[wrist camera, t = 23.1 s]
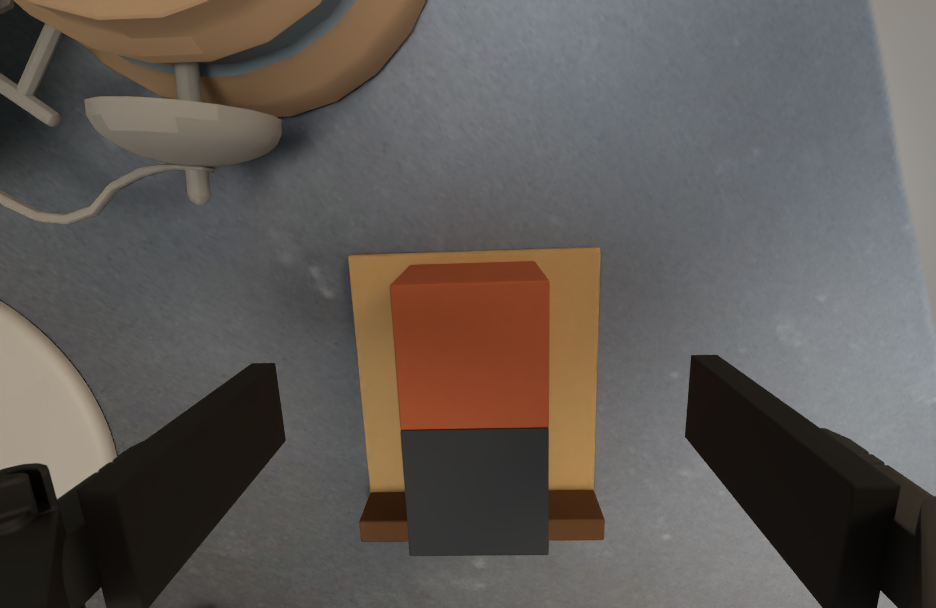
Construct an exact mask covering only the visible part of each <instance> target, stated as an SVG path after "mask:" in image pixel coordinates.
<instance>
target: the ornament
mask: <svg viewBox="0 0 936 608" xmlns="http://www.w3.org/2000/svg"><path fill="white" fill-rule="evenodd" d="M116 457H117V454H116V450H115V446H114V442H113V439H112V436H111V433H110V430H109V427H108V425H107V422H106V420H105V418H104V415H103V413H102V411H101V409H100V407H99V405H98V403H97V401H96V399H95V398H94V396H93V394H92V392H91V391H90V389H89V387H88V386H87V384H86V383H85V381H84V380H83V378H82V377H81V376H80V374H79V373H78V371H77V370H76V369H75V367H74V366H73V365H72V364H71V362H70V361H69V360H68V359H67V358H66V356H65V355H64V354H63V353H62V352H61V351H60V350H59V349H58V348H57V346H56V345H55V344H54V343H53V342H52V341H51V340H50V339H49V338H48V337H47V336H45V335H44V334H43V333H42V332H41V331H40V330H39V329H38V328H37V327H35V326H34V325H33V324H32V323H31V322H30V321H28V320H27V319H26V318H24V317H23V316H22V315H21V314H19V313H18V312H16V311H15V310H14V309H12V308H11V307H9V306H8V305H6V304H5V303H3V302H2V301H0V470H1V469H4V468H8V467H13V466H17V465H22V464H32V463H40V464H44V465H47V467H48V469H49V471H50V475H51V479H52V482H53V486H54V490H55V494H56V497H57V499H58V498H59V497H61V496H62V495H64V494H65V493H67V492H68V491H69V490H71V489H72V488H74V487H75V486H76V485H78V484H79V483H81V482H82V481H83V480H85V479H86V478H88V477H89V476H91V475H92V474H93V473H95V472H98V470H99V469H100V468H102V467H103V466H105V465H106V464H107V463H109V462H112V461H113V459H114V458H116Z"/></svg>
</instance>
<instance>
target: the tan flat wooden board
mask: <svg viewBox="0 0 936 608" xmlns="http://www.w3.org/2000/svg"><path fill="white" fill-rule="evenodd" d="M600 257H601V249H600V248H598V247H581V248H550V249H518V250H487V251H456V252H424V253H393V254H361V255H350V256H348V262H349V273H350V283H351V294H352V304H353V315H354V325H355V335H356V346H357V356H358V367H359V377H360V388H361V398H362V409H363V419H364V430H365V440H366V450H367V461H368V471H369V482H370V492H371V493H370V495H369V498H368V501H367V503H366V506H365V509H364V511H363V514H362V517H361V519H360V522H359V523H360V533H361V541H362V542H409V538H408V525H407V512H406V499H405V486H404V473H403V460H402V447H401V435H400V431H401V428H400V417H399V404H398V391H397V378H396V364H395V351H394V338H393V325H392V312H391V298H390V285H391V284H392V283H393V282H394V281H395V280H396V279H397V278H398V277H399V276H400V275H401V274H402V273H403V272H404V271H405V270H406V268H407V267H408V266H409V265H420V264H453V263H486V262H519V261H535V262H536V263H537V265H538V266H539V267H540V269H541V270H542V271H543V273H544V274H545V276H546V277H547V278H548V280H549V281H550V343H549V540H603V539H604V523H605V520H604V517H603V514H602V512H601V509H600V506H599V503H598V501H597V498H596V495H595V493H594V490H593V488H594V455H595V422H596V389H597V356H598V323H599V290H600Z"/></svg>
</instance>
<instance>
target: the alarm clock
mask: <svg viewBox="0 0 936 608" xmlns="http://www.w3.org/2000/svg"><path fill="white" fill-rule="evenodd" d="M14 2H16V3H17V4H18V5H19V6H20V7H21V8H22V9H24V10H25V11H26V12H27V13H29V14H30V15H31V16H33V17H35V18H37V19H38V20H40V21H42V22H44V23H45V25H44V27H43V29H42V32H41V34H40V36H39V38H38V41H37V43H36V45H35V47H34V50H33V52H32V54H31V56H30V59H29V61H28V63H27V65H26V67H25V70H24V72H23V74H22V76H21V79H20V81H19V83H18V85H17V84H16V83H14V82H13V81H11V80H10V79H8V78H7V77H5V76H4V75H2V74H1V73H0V93H1V94H3V95H4V96H6V97H7V98H8V99H10V100H11V101H13V102H14V103H16V104H17V105H19V106H20V107H22V108H23V109H25V110H26V111H27V112H29V113H30V114H32V115H33V116H35V117H36V118H38V119H39V120H41V121H42V122H44V123H45V124H46V125H48V126H50V127H55V126H58V125H59V124H60V123H61V122H62V116H61V115H60V114H59V113H57V112H56V111H55V110H53V109H52V108H50V107H49V106H47V105H46V104H45V103H43V102H42V101H40V100H39V99H37V98H36V97H35V94H36V92H37V90H38V88H39V86H40V83H41V81H42V79H43V77H44V75H45V72H46V70H47V68H48V66H49V64H50V62H51V59H52V57H53V55H54V53H55V51H56V48H57V46H58V44H59V42H60V40H61V37H62V35H63V33H64V34H66V35H68V36H69V37H71V38H73V39H75V40H77V41H78V42H80V43H81V44H82V45H83V46H85V47H86V48H87V49H88V50H89V51H90V52H91V53H92V54H94V55H95V56H96V57H97V58H98V59H99V60H100V61H101V62H102V63H104V64H105V65H106V66H108V67H109V68H111V69H113V70H114V71H116V72H118V73H120V74H122V75H123V76H125V77H127V78H129V79H131V80H133V81H134V82H136V83H138V84H140V85H142V86H144V87H145V88H147V89H149V90H151V91H153V92H155V93H156V94H158V95H160V96H162V97H165V98H169V99H163V98H148V97H133V96H98V97H93V98H88V99H84V103H85V111H86V116H87V118H88V119H89V121H90V122H91V124H92V125H93V127H94V128H95V130H96V131H97V132H98V133H99V134H101V135H102V136H103V137H105V138H106V139H108V140H109V141H110V142H112V143H113V144H115V145H117V146H119V147H121V148H123V149H125V150H128V151H130V152H132V153H134V154H137V155H140V156H143V157H147V158H150V159H153V160H157V161H161V162H166V163H171V164H160V165H153V166H145V167H139V168H137V169H135V170H133V171H131V172H129V173H127V174H125V175H123V176H121V177H119V178H117V179H115V180H113V181H111V182H110V183H109V184H108V185H107V186H106V187H105V189H104V190H103V191H102V192H101V194H100V195H99V196H98V197H97V199H96V200H95V201H94V202H93V204H92V205H91V206H88V207H85V208H82V209H79V210H77V211H74V212H71V213H68V214H59V213H50V212H43V211H41V210H39V209H37V208H34V207H32V206H30V205H28V204H26V203H24V202H22V201H20V200H18V199H16V198H14V197H12V196H10V195H8V194H7V193H5V192H3V191H1V190H0V204H2V205H3V206H5V207H7V208H9V209H12V210H14V211H16V212H18V213H20V214H22V215H25V216H27V217H29V218H31V219H33V220H35V221H40V222H49V223H57V224H72V223H75V222H78V221H81V220H84V219H87V218H90V217H93V216H96V215H99V214H100V213H101V211H102V210H103V209H104V208H105V206H106V205H107V204H108V203H109V201H110V200H111V199H112V198H113V196H114V195H115V194H116V193H117V191H118V190H120V189H122V188H124V187H126V186H128V185H130V184H132V183H134V182H136V181H138V180H140V179H142V178H144V177H146V176H150V175H154V174H157V173H161V172H165V171H169V170H185V174H186V184H187V193H188V197H189V199H190V200H191V201H192V202H193V203H194V204H196V205H204V204H206V203H207V202H208V201H209V199H210V196H211V194H210V182H209V172H215V168H214V167H216V166H225V165H234V164H238V163H242V162H246V161H250V160H253V159H256V158H258V157H260V156H263V155H265V154H267V153H268V152H270V151H271V150H272V149H273V148H275V147H276V146H277V144H278V142H279V140H280V137H281V135H282V126H281V120H280V119H278V118H277V117H291V116H294V115H297V114H300V113H303V112H306V111H309V110H312V109H315V108H318V107H321V106H324V105H327V104H330V103H333V102H337V101H338V100H339V99H341V98H342V97H344V96H345V95H347V94H348V93H350V92H351V91H352V90H354V89H355V88H357V87H358V86H360V85H361V84H363V83H364V82H365V81H367V80H368V79H370V78H371V77H373V76H374V75H376V74H377V73H378V72H379V71H380V70H381V68H382V67H383V66H384V65H385V63H386V62H387V61H388V60H389V59H390V57H391V56H392V55H393V54H394V53H395V51H396V50H397V49H398V48H399V47H400V45H401V44H402V43H403V42H404V40H405V39H406V38H407V37H408V36H409V34H410V33H411V32H412V30H413V28H414V25H415V23H416V21H417V19H418V17H419V15H420V12H421V10H422V8H423V6H424V4H425V2H426V0H0V15H1V14H3V13H5V12H7V11H9V10H11V9H12V8H14Z"/></svg>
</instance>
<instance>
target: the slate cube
mask: <svg viewBox="0 0 936 608" xmlns="http://www.w3.org/2000/svg"><path fill="white" fill-rule="evenodd" d="M400 435H401V447H402V460H403V473H404V486H405V499H406V512H407V525H408V538H409V551H410V556H464V555H548V547H549V427H533V428H474V429H415V430H401V431H400Z"/></svg>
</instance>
